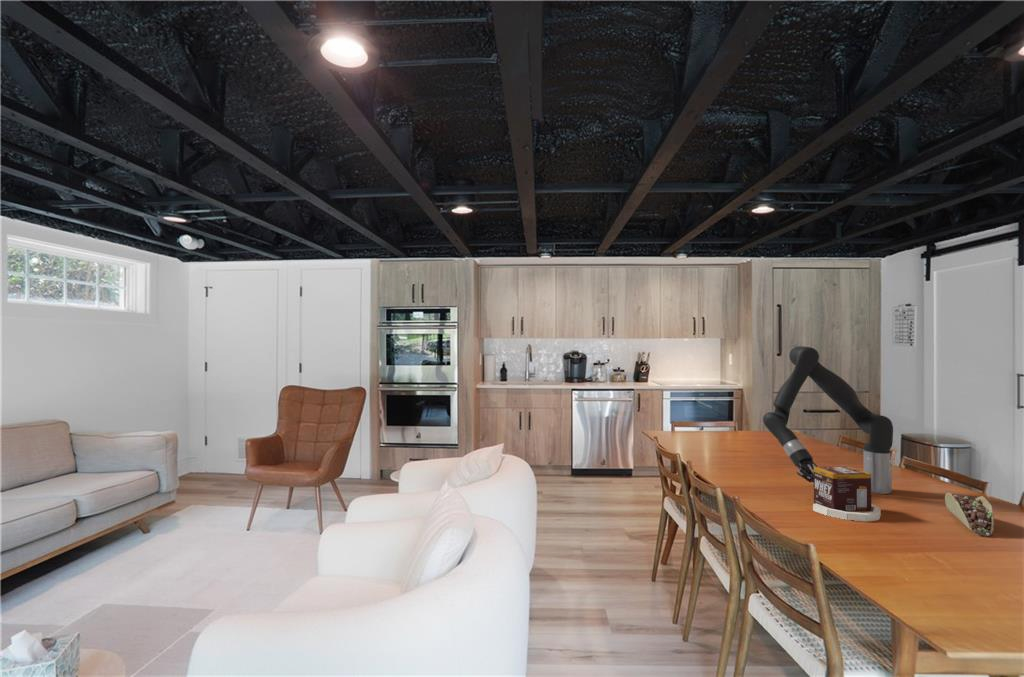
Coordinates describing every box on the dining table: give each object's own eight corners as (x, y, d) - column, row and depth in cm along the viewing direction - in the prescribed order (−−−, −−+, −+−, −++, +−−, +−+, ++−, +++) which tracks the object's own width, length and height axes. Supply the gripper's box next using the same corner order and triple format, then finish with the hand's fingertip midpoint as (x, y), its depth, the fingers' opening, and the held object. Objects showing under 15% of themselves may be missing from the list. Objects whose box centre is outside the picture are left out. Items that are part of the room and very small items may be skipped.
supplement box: (813, 506, 183) (812, 466, 184) (850, 505, 185) (849, 466, 185) (833, 516, 173) (832, 473, 173) (872, 515, 174) (871, 473, 174)
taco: (972, 514, 176) (972, 487, 176) (1003, 540, 152) (1003, 509, 152) (938, 510, 180) (938, 484, 180) (963, 534, 157) (963, 504, 157)
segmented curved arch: (856, 505, 185) (856, 498, 185) (895, 517, 172) (895, 510, 172) (813, 510, 179) (812, 504, 179) (849, 524, 165) (849, 517, 165)
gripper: (790, 448, 194) (818, 487, 182) (815, 447, 198) (843, 484, 186) (780, 458, 199) (806, 496, 187) (803, 456, 203) (830, 493, 191)
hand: (824, 490), depth 186 cm, fingers closed
